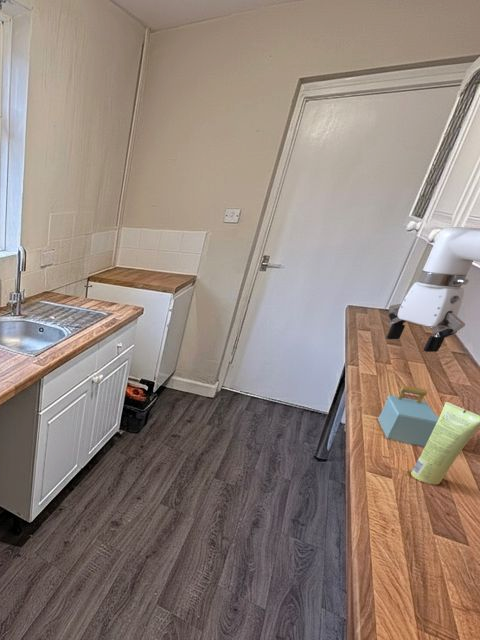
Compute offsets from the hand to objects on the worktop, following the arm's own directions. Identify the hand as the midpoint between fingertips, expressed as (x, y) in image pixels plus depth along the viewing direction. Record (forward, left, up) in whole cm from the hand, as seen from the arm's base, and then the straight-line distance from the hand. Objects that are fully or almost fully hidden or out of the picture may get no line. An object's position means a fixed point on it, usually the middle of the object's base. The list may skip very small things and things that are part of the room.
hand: (410, 344), depth 109 cm
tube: (-7, +22, -27) cm, 36 cm away
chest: (-7, -4, -27) cm, 28 cm away
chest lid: (-7, -4, -19) cm, 21 cm away
